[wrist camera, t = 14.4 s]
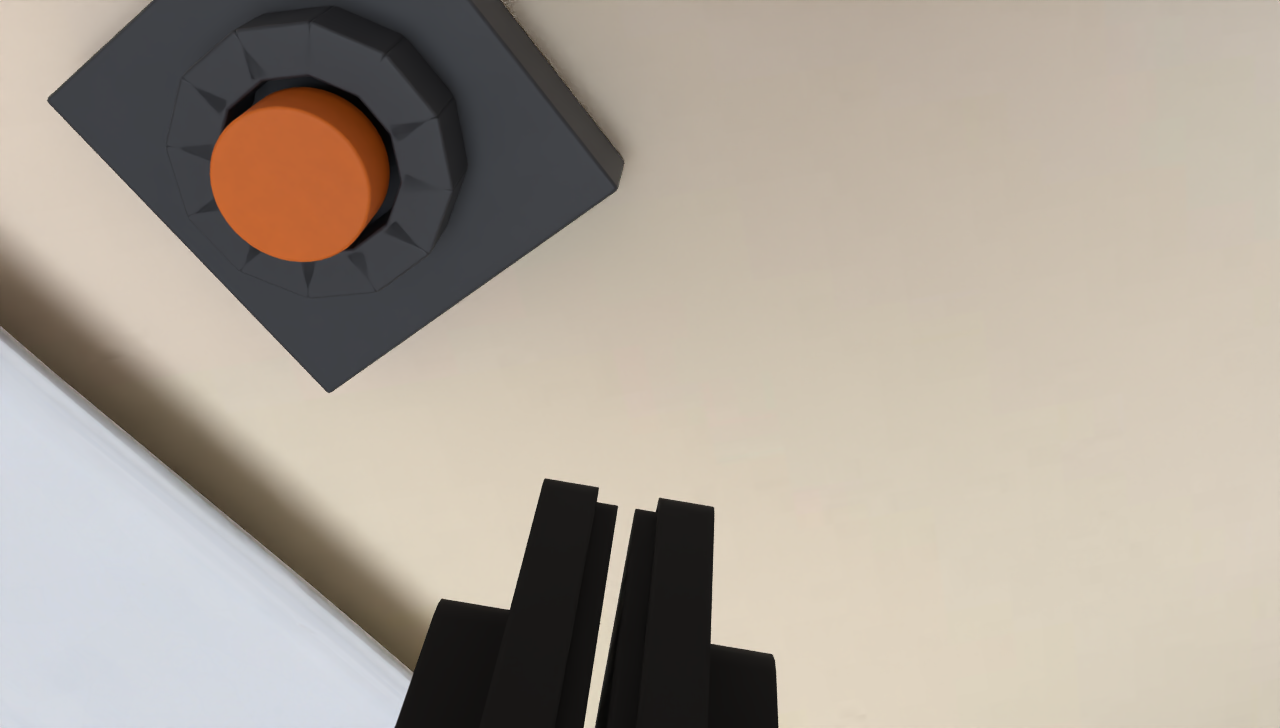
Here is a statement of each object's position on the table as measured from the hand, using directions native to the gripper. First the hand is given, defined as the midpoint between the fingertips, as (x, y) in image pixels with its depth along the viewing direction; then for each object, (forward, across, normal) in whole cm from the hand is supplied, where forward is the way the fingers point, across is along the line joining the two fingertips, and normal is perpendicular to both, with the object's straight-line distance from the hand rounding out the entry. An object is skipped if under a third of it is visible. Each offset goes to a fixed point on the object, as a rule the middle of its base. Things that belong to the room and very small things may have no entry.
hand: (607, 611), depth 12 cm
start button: (+17, +8, +2) cm, 19 cm away
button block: (+20, +8, +2) cm, 22 cm away
